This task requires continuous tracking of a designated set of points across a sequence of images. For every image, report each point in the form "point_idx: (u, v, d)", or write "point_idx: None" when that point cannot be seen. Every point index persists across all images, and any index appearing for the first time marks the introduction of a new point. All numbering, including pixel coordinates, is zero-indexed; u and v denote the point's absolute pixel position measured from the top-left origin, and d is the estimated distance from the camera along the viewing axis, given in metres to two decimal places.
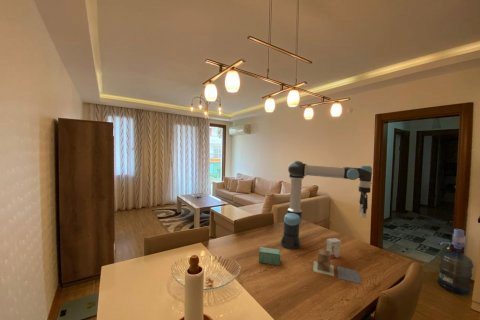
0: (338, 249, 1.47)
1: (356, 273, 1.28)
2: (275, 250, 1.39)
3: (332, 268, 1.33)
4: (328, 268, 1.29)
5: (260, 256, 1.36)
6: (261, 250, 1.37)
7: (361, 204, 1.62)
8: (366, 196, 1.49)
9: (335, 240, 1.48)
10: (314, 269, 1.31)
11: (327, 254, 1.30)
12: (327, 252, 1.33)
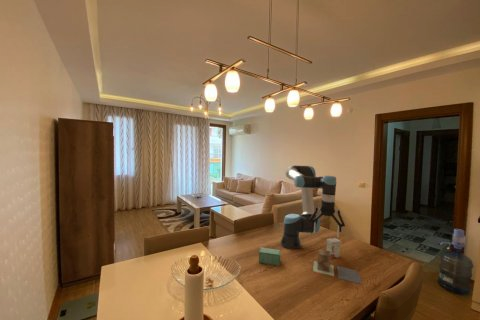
0: (338, 249, 1.47)
1: (356, 273, 1.28)
2: (275, 250, 1.38)
3: (332, 268, 1.33)
4: (328, 268, 1.29)
5: (260, 256, 1.35)
6: (261, 250, 1.37)
7: None
8: None
9: (335, 240, 1.48)
10: (314, 269, 1.31)
11: (327, 254, 1.30)
12: (327, 252, 1.33)
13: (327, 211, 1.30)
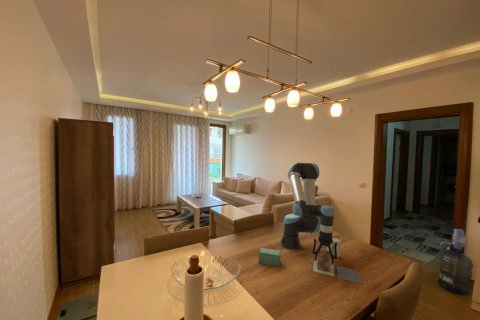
0: (338, 249, 1.47)
1: (356, 273, 1.28)
2: (275, 251, 1.37)
3: (332, 268, 1.33)
4: (328, 268, 1.29)
5: (260, 257, 1.35)
6: (261, 251, 1.36)
7: None
8: (314, 240, 1.34)
9: (335, 240, 1.48)
10: (314, 269, 1.31)
11: (327, 254, 1.30)
12: (327, 252, 1.33)
13: (325, 241, 1.31)
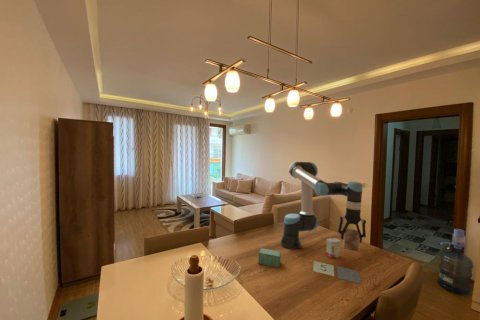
0: (338, 249, 1.47)
1: (356, 273, 1.28)
2: (275, 252, 1.36)
3: (332, 268, 1.33)
4: (356, 247, 1.21)
5: (260, 257, 1.34)
6: (261, 251, 1.35)
7: None
8: (340, 218, 1.27)
9: (335, 240, 1.48)
10: (314, 269, 1.31)
11: (355, 232, 1.23)
12: (354, 231, 1.26)
13: (352, 219, 1.24)
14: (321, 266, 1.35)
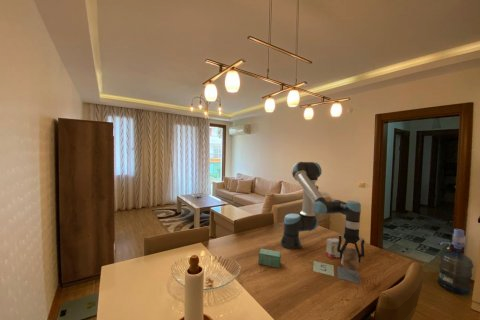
0: None
1: (356, 273, 1.28)
2: (275, 252, 1.36)
3: (332, 268, 1.33)
4: (355, 267, 1.22)
5: (260, 258, 1.34)
6: (261, 252, 1.35)
7: None
8: (339, 237, 1.28)
9: (335, 240, 1.48)
10: (314, 269, 1.31)
11: (354, 252, 1.23)
12: (353, 250, 1.26)
13: (351, 238, 1.25)
14: (321, 266, 1.35)
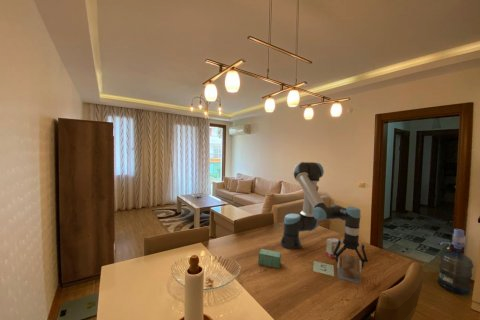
0: (338, 249, 1.47)
1: (356, 273, 1.28)
2: (275, 253, 1.35)
3: (332, 268, 1.33)
4: (354, 275, 1.22)
5: (260, 258, 1.33)
6: (261, 252, 1.35)
7: None
8: (338, 242, 1.28)
9: (335, 240, 1.48)
10: (314, 269, 1.31)
11: (353, 260, 1.24)
12: (352, 258, 1.26)
13: (350, 244, 1.25)
14: (321, 266, 1.35)
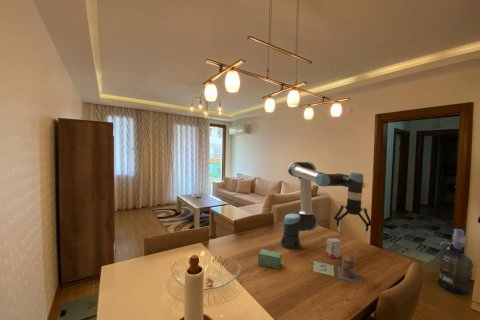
0: (338, 249, 1.47)
1: (356, 273, 1.28)
2: (275, 253, 1.34)
3: (332, 268, 1.33)
4: (354, 275, 1.22)
5: (259, 258, 1.33)
6: (261, 252, 1.34)
7: (364, 225, 1.25)
8: (340, 207, 1.28)
9: (335, 240, 1.48)
10: (314, 269, 1.31)
11: (353, 260, 1.24)
12: (352, 258, 1.26)
13: (353, 209, 1.25)
14: (321, 266, 1.35)
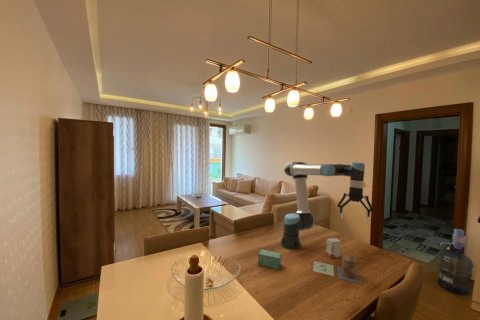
0: (338, 249, 1.47)
1: (356, 273, 1.28)
2: (275, 253, 1.34)
3: (332, 268, 1.33)
4: (354, 275, 1.22)
5: (259, 259, 1.32)
6: (261, 253, 1.34)
7: (366, 211, 1.32)
8: (343, 195, 1.36)
9: (335, 240, 1.48)
10: (314, 269, 1.31)
11: (353, 260, 1.24)
12: (352, 258, 1.26)
13: (355, 197, 1.33)
14: (321, 266, 1.35)
